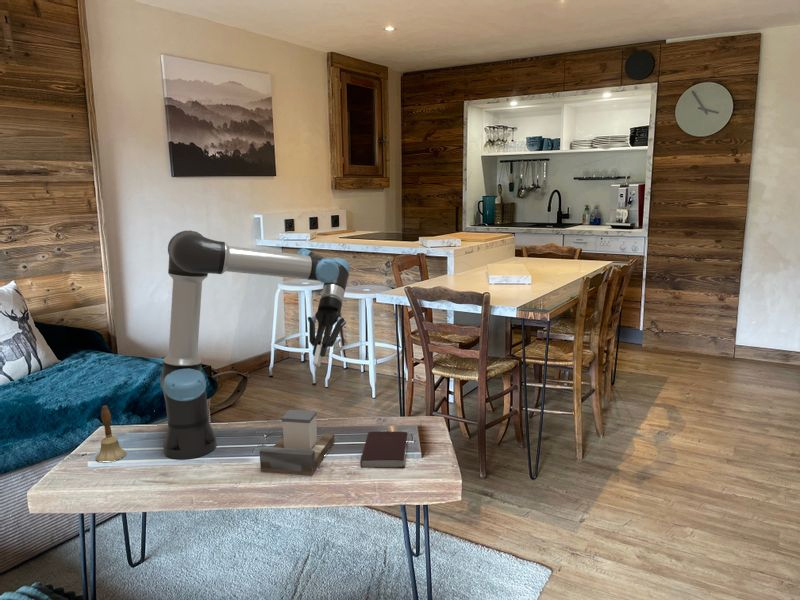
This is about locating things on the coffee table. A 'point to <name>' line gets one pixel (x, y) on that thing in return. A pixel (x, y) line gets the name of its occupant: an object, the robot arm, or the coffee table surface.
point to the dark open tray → (295, 457)
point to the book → (384, 450)
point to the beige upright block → (299, 429)
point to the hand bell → (109, 440)
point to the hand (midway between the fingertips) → (316, 365)
